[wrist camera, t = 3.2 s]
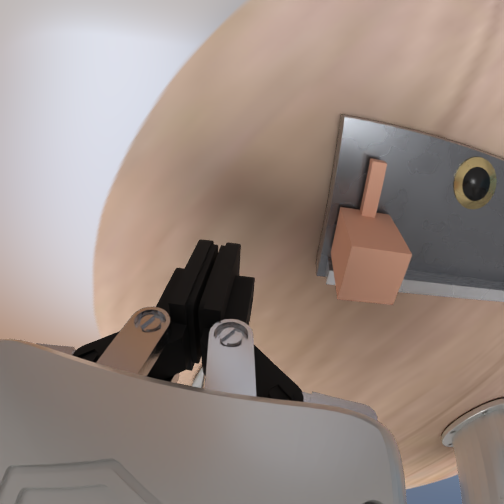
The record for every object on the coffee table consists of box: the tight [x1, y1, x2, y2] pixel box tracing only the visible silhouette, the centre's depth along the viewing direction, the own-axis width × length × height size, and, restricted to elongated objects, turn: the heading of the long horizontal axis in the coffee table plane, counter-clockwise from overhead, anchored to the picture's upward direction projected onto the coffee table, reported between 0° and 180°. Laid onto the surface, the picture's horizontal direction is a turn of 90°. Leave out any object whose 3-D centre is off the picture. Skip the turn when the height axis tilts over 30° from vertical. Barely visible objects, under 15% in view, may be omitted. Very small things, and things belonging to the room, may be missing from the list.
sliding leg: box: [331, 158, 412, 305], centre depth 15 cm, size 3×6×4 cm, turn 176°
